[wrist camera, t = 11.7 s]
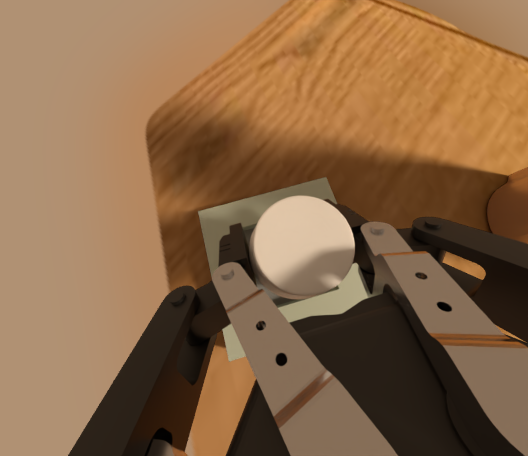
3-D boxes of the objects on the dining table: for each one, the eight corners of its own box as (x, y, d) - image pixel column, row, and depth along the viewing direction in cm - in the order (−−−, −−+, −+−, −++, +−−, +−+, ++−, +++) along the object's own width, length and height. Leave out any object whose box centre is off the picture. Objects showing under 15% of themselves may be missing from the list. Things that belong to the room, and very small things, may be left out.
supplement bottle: (243, 253, 16) (218, 226, 7) (289, 221, 16) (311, 164, 8) (278, 303, 14) (292, 337, 6) (325, 267, 15) (393, 255, 7)
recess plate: (205, 218, 19) (197, 211, 16) (319, 187, 19) (326, 176, 17) (234, 350, 16) (229, 361, 14) (367, 308, 16) (382, 312, 14)
